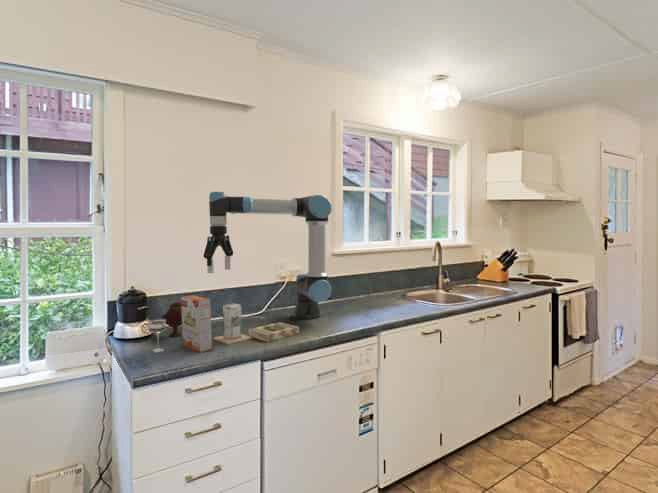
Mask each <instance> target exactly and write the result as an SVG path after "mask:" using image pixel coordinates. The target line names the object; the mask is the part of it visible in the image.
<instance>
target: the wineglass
mask: <svg viewBox="0 0 658 493" xmlns="http://www.w3.org/2000/svg"><path fill="white" fill-rule="evenodd" d="M165 322H166V320H165V319H162V318H155V319H150V320H149V321H148V329H149V331H150V332H151V333H152V334H155V335H156V340H157V348H154V349H152V350H153V351H154V352H153V353H161V352H164V351H166V348H163V347H162V348H161V347H160V335H161V334H162V333H163V332H165V330H166V329H167V326H168V325H167V324H166V323H165ZM160 351H161V352H160Z"/></svg>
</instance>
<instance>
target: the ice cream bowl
mask: <svg viewBox="0 0 658 493" xmlns="http://www.w3.org/2000/svg"><path fill="white" fill-rule="evenodd" d="M161 319H165V320H166V322H165V323H166V325H167V326H169V327H171V328H172V329H173V330H172V332H171V333H170V334H168V336H169V337H170V338H177V336H178V337H181V336H183V335H182V333H181V332H180V331H178V327H180V326H182V309H181V302H177V301H176V302H173V303H171V304H170V305H169V309H168V310H167V311H166V312H165V313H164V314H163V315H161Z"/></svg>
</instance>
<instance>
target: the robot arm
mask: <svg viewBox="0 0 658 493" xmlns="http://www.w3.org/2000/svg"><path fill="white" fill-rule="evenodd" d="M208 199H209V202H208V203H209V204H208V207H209V208H208V209H209V225H210V226H209V234H210V235H212V236H207V237H206V238H207V241H206V246H205V249H204V252H203V258H204V259H206V266H207V274H214V272H215V267H214V265H215V264H214V258H213V257H214V254H215V253H216V250H217V248H218V247H221V249H222V251H223V253H224V254H225V255H224V270H226V271H231V268H232V267H231V266H232V265H231V257H233V255H234V250H233V247H232V244H231V243H232V242H230V241H231V240H230V235H227V233H228V227H227V225H228V221H227V214H229V213H230V214H232V215H233V214H254V215H255V214H256V215H257V214H259V215H260V214H262V215H265V214H266V215H267V214H268V215H291V216H292V217H299V218H301V217H302V218H305V223H306V224H307V225H308V263H307V264H308V268H307V270H308V272H307V273H303V274H297V275H296V277H295V284H296V285H295V286H296V288H295V289H296V303H295V307H294V310H293V317H294V318H295V319H296V318H297V319H301V320H303V319H304V320H308V319H311V320H312V319H317V318H320V317H322V310H321V307H320V304H319V303H324V302H325V301H326V300H328V299H329V298H330V296H331V294H332V285H331V283H330V282H329V274H328V273H327V272H326V225H327V224H328V223H329V216H330V214H331V213H332V208H333V206H332V203H331V201H330V199H329V198H328V197H327V196H325V195H323V194H313V195H310V196H303V197H292V198H291V199H272V198H271V199H270V198H267V199H266V198H251V196H227V193H226V192H224V191H211V192H210V193H209V198H208Z"/></svg>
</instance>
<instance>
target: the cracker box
mask: <svg viewBox="0 0 658 493" xmlns="http://www.w3.org/2000/svg"><path fill="white" fill-rule="evenodd" d="M180 301H181V302H180V303H181V309H182V324H181V330H182V333H181V334H182V335H181V336H182V346H184V347H185V348H188V349H190V350H193V351H195V352H198V353H203V352H206V351H207V352H208V351H210V350H213V337H212V336H213V335H212V307H211V304H212V303H211V299H210V298H205V297H202V296H198V295H194V294H193V295H191V294H190V295H185V296H181V297H180Z"/></svg>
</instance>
